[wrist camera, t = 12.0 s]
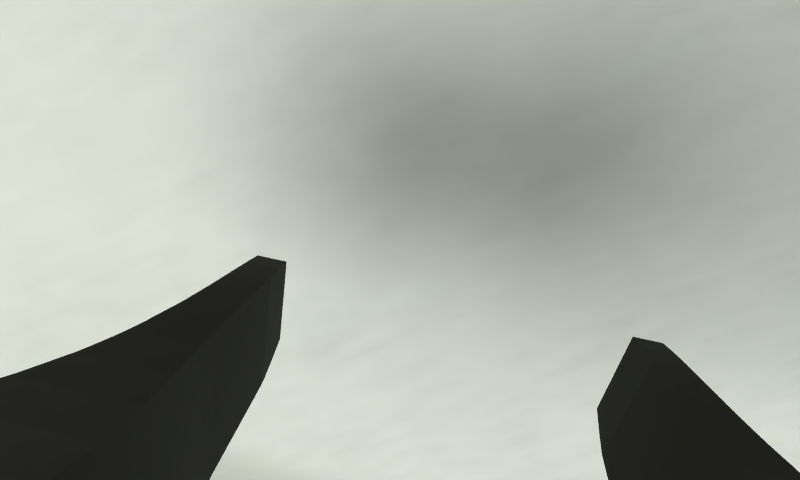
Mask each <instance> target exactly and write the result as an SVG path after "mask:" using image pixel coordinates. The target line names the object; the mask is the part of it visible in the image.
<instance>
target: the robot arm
mask: <svg viewBox="0 0 800 480" xmlns="http://www.w3.org/2000/svg"><path fill="white" fill-rule="evenodd" d="M285 272H286V262H285V261H280V260H276V259H271V258H267V257H262V256H256V257H254V258H253V259H251V260H249V261H248V262H246V263H245V264H243V265H241V266H240V267H238V268H236V269H235V270H233V271H232V272H230V273H228V274H227V275H225V276H224V277H222V278H220V279H219V280H217V281H216V282H214V283H212V284H211V285H209V286H208V287H206V288H204V289H202V290H201V291H199V292H197V293H196V294H194V295H192V296H191V297H189V298H187V299H186V300H184V301H182V302H180V303H179V304H177V305H175V306H173V307H171V308H169V309H167V310H165V311H163V312H162V313H160V314H158V315H156V316H154V317H152V318H150V319H148V320H147V321H145V322H143V323H141V324H139V325H137V326H135V327H133V328H130V329H128V330H126V331H124V332H122V333H120V334H117V335H115V336H113V337H111V338H108V339H106V340H104V341H101V342H99V343H96V344H94V345H92V346H89V347H87V348H85V349H82V350H80V351H77V352H74V353H72V354H69V355H66V356H63V357H60V358H58V359H55V360H52V361H49V362H46V363H43V364H41V365H38V366H35V367H32V368H29V369H27V370H24V371H21V372H18V373H15V374H12V375H9V376H5V377H2V378H0V480H209V479H210V477H211V475H212V473H213V471H214V470H215V468H216V466H217V464H218V462H219V461H220V459H221V457H222V455H223V453H224V452H225V450H226V448H227V446H228V444H229V442H230V441H231V439H232V437H233V435H234V433H235V432H236V430H237V428H238V426H239V424H240V423H241V421H242V419H243V417H244V415H245V413H246V412H247V410H248V408H249V406H250V404H251V402H252V401H253V399H254V397H255V395H256V393H257V391H258V390H259V388H260V386H261V384H262V382H263V380H264V378H265V375H266V373H267V370H268V368H269V365H270V363H271V360H272V358H273V355H274V353H275V350H276V347H277V345H278V342H279V340H280V331H281V319H282V307H283V296H284V284H285ZM597 413H598V423H599V434H600V441H601V449H602V456H603V460H604V464H605V469H606V472H607V476H608V480H800V472H798V471H797V470H796V469H795V468H794V467H793V466H792V465H791V464H789V463H788V462H787V461H786V460H785V459H784V458H783V457H782V456H781V455H779V454H778V453H777V452H776V451H775V450H774V449H773V448H772V447H771V446H769V445H768V444H767V443H766V442H765V441H764V440H763V439H762V438H761V437H760V436H759V435H758V434H757V433H756V432H755V431H753V430H752V429H751V428H750V427H749V426H748V425H747V424H746V423H745V422H744V421H743V420H742V419H741V418H740V417H739V416H738V415H737V414H736V413H735V412H734V411H733V410H732V409H731V408H730V407H729V406H728V405H727V404H726V403H725V402H724V401H723V400H722V399H721V398H720V397H719V396H718V395H717V394H716V393H715V392H714V391H713V390H712V389H711V388H709V387H708V386H707V385H706V384H705V383H704V382H703V381H702V380H701V379H700V378H699V377H698V376H697V375H696V374H695V373H694V372H693V371H692V370H691V369H690V368H689V367H688V366H687V365H686V364H685V363H684V362H683V361H682V360H681V359H680V358H679V357H678V356H677V355H676V354H675V353H673V352H672V351H671V350H670V349H669V348H668V347H667V346H665V345H664V344H663V343H659V342H654V341H650V340H645V339H641V338H636V337H633V338H632V340H631V342H630V344H629V346H628V348H627V350H626V352H625V354H624V356H623V358H622V360H621V362H620V364H619V366H618V368H617V370H616V372H615V374H614V376H613V378H612V380H611V382H610V384H609V386H608V388H607V390H606V392H605V394H604V396H603V398H602V400H601V402H600V404H599V406H598V408H597Z"/></svg>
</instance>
